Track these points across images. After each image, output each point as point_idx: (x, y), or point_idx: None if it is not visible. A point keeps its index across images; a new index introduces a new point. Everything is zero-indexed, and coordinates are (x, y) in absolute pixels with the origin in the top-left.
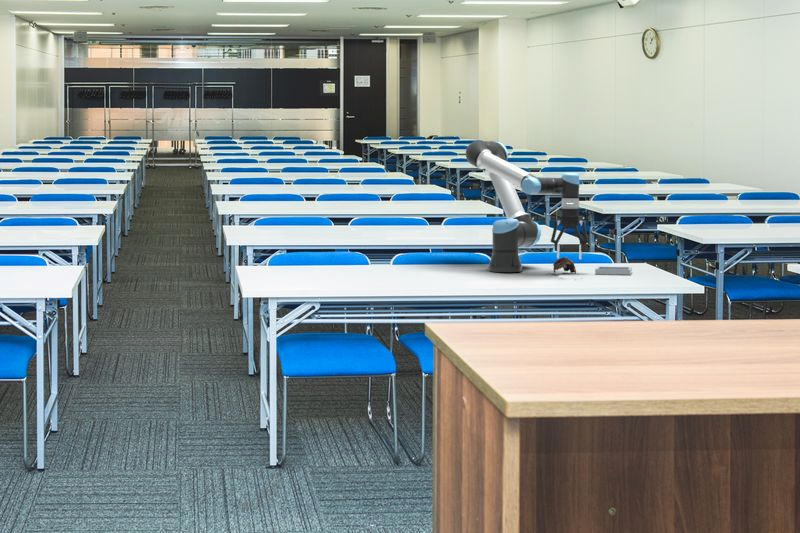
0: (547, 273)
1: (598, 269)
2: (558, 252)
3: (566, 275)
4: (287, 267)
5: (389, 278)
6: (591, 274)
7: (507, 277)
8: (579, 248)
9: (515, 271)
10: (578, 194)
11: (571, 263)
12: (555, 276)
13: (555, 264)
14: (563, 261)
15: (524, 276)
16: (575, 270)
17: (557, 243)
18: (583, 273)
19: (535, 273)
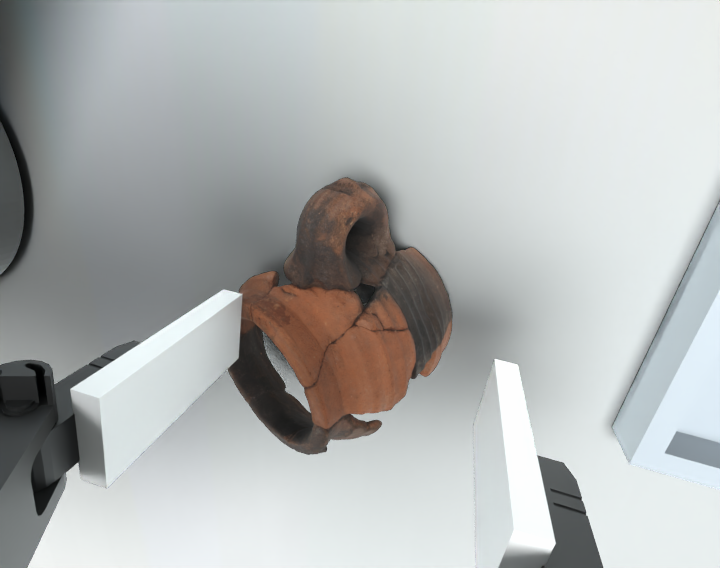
0: (218, 274)
1: (662, 471)
2: (192, 400)
3: (355, 458)
4: None
5: None
6: (586, 387)
7: (57, 532)
8: (479, 548)
9: (1, 270)
10: None
11: (396, 329)
12: (282, 517)
13: (240, 390)
14: (298, 450)
15: (117, 492)
16: (439, 358)
17: (70, 468)
18: (534, 271)
19: (136, 275)
